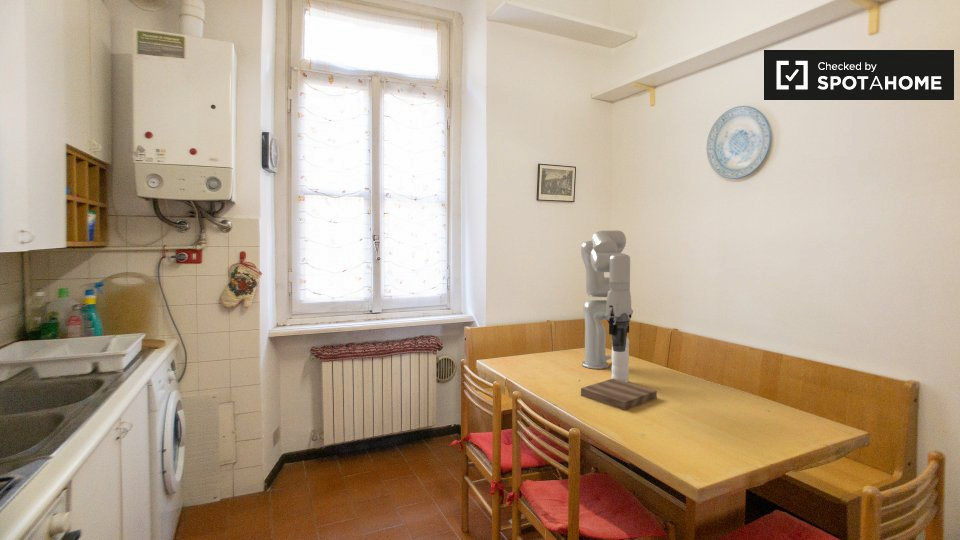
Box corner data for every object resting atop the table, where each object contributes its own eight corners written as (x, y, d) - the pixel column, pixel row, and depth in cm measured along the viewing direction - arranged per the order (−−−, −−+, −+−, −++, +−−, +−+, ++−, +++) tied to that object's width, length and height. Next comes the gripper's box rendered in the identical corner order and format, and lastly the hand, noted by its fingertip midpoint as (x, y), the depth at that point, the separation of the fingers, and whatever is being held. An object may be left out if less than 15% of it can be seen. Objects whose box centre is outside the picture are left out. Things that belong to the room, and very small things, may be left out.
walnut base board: (613, 385, 192) (613, 378, 192) (656, 398, 176) (656, 390, 176) (581, 395, 180) (581, 388, 180) (624, 410, 164) (624, 402, 164)
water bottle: (610, 383, 195) (611, 324, 193) (612, 378, 201) (612, 322, 200) (628, 385, 192) (628, 326, 190) (629, 380, 199) (630, 323, 197)
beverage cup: (626, 348, 180) (627, 297, 179) (630, 352, 173) (631, 299, 172) (607, 348, 181) (608, 297, 180) (611, 352, 174) (611, 299, 172)
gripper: (625, 284, 183) (624, 329, 185) (596, 287, 173) (596, 334, 174) (641, 286, 177) (641, 332, 179) (613, 289, 167) (613, 338, 168)
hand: (619, 333), depth 176 cm, fingers closed on beverage cup, 6 cm apart
